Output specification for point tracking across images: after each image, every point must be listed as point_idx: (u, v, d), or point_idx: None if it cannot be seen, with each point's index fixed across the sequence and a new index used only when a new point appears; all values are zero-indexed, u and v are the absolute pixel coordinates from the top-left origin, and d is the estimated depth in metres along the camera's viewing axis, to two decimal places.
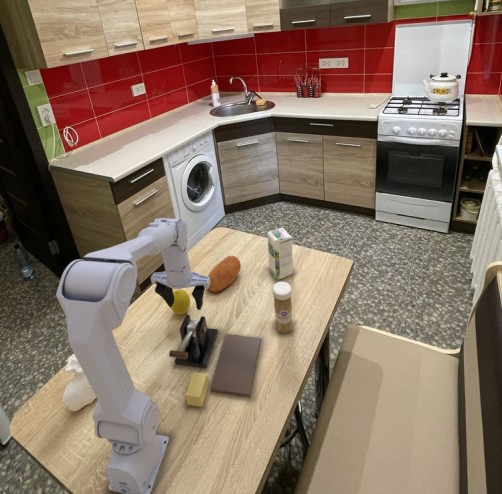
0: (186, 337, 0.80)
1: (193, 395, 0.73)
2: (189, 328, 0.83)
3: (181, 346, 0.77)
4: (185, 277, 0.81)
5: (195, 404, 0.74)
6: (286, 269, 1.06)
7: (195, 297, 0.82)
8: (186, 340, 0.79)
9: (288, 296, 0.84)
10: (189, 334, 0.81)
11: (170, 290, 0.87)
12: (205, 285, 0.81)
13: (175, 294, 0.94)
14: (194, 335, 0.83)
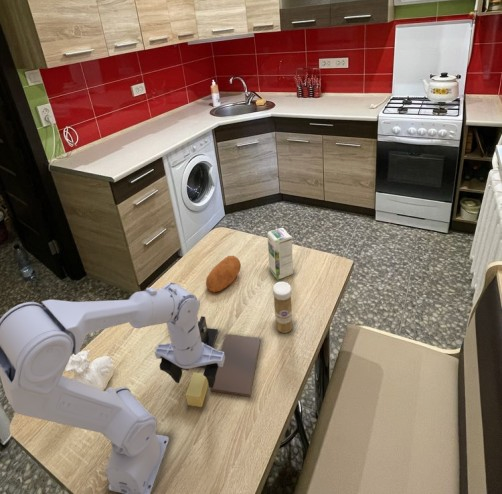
0: None
1: (193, 395, 0.73)
2: None
3: None
4: (196, 355, 0.68)
5: (195, 404, 0.74)
6: (286, 269, 1.06)
7: (207, 377, 0.70)
8: None
9: (288, 296, 0.84)
10: None
11: None
12: (219, 363, 0.69)
13: None
14: None
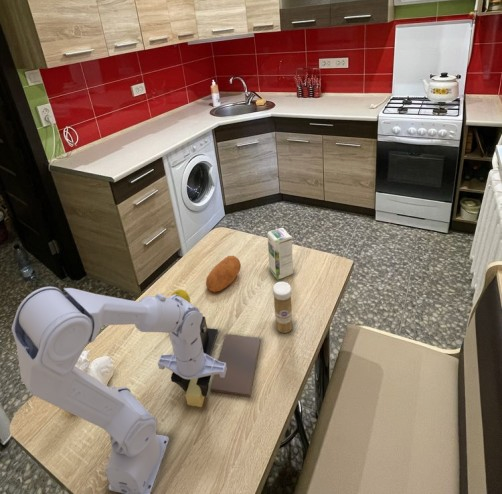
0: None
1: (193, 395, 0.73)
2: None
3: None
4: (198, 366, 0.70)
5: (195, 404, 0.74)
6: (286, 269, 1.06)
7: (200, 386, 0.71)
8: None
9: (288, 296, 0.84)
10: None
11: None
12: (221, 374, 0.70)
13: None
14: None
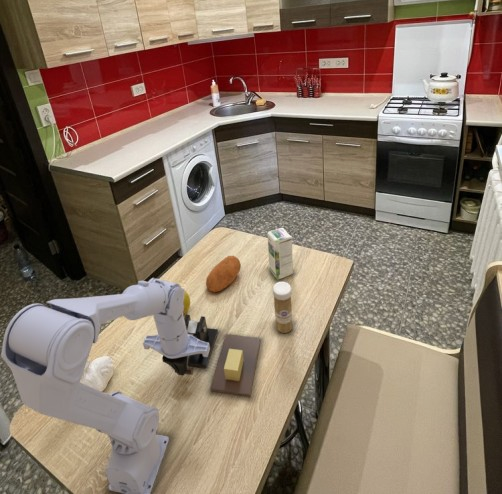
0: None
1: (232, 368, 0.77)
2: (189, 333, 0.83)
3: None
4: (181, 345, 0.71)
5: (233, 378, 0.78)
6: (286, 269, 1.06)
7: (177, 364, 0.73)
8: None
9: (288, 296, 0.84)
10: None
11: None
12: (204, 353, 0.72)
13: None
14: (195, 335, 0.84)
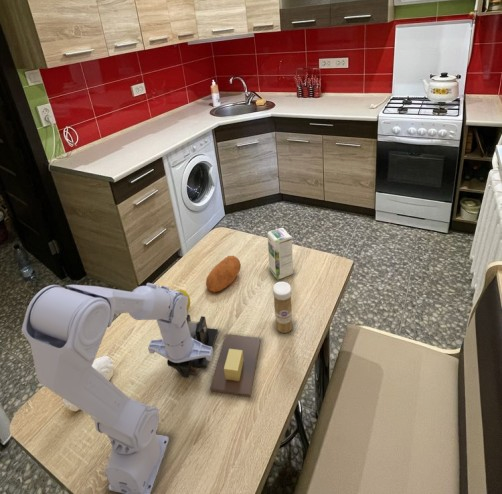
0: None
1: (232, 368, 0.77)
2: None
3: None
4: (186, 350, 0.74)
5: (233, 378, 0.78)
6: (286, 269, 1.06)
7: (182, 368, 0.76)
8: None
9: (288, 296, 0.84)
10: None
11: None
12: (207, 357, 0.74)
13: None
14: None
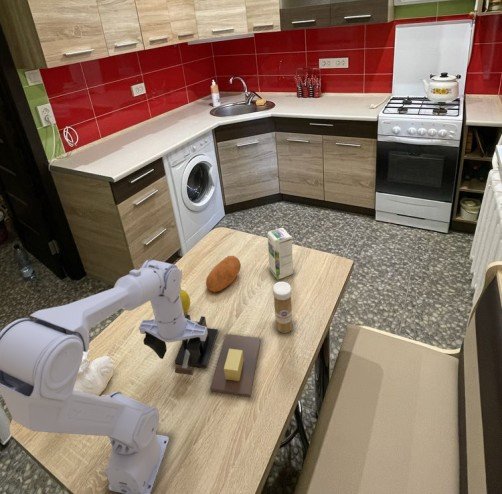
0: None
1: (232, 368, 0.77)
2: None
3: (185, 360, 0.80)
4: (178, 329, 0.70)
5: (233, 378, 0.78)
6: (286, 269, 1.06)
7: (190, 351, 0.71)
8: (188, 351, 0.81)
9: (288, 296, 0.84)
10: None
11: (161, 340, 0.76)
12: (201, 337, 0.71)
13: None
14: None
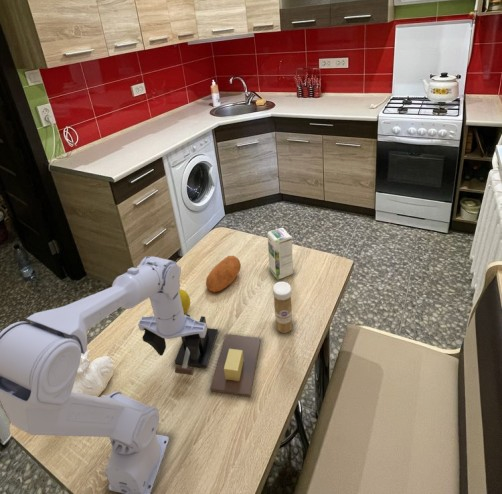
0: None
1: (232, 368, 0.77)
2: None
3: (185, 360, 0.80)
4: (178, 325, 0.69)
5: (233, 378, 0.78)
6: (286, 269, 1.06)
7: (189, 347, 0.71)
8: (188, 351, 0.81)
9: (288, 296, 0.84)
10: None
11: (161, 336, 0.75)
12: (201, 334, 0.70)
13: None
14: None
